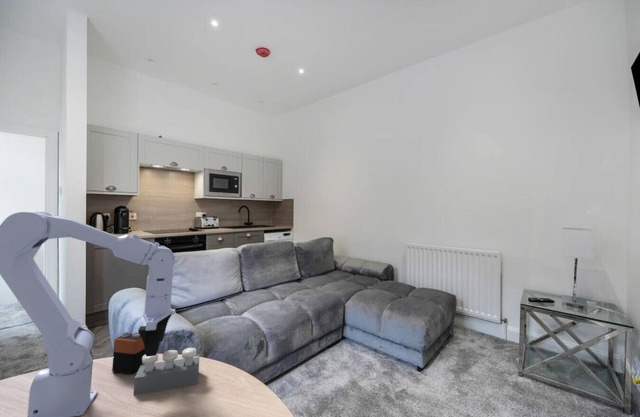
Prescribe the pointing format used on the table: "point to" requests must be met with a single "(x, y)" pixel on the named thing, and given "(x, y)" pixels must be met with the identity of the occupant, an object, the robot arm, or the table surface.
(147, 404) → the table surface
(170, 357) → the knob middle
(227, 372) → the table surface
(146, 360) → the knob near
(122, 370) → the battery
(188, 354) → the knob far
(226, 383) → the table surface
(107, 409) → the table surface
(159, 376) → the mount
